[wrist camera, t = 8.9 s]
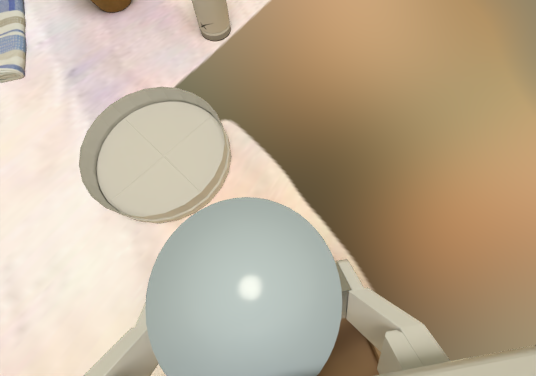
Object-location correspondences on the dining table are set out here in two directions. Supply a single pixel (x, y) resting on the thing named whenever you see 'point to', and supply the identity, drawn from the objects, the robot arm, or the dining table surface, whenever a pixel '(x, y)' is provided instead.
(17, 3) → the dish towel
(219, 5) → the travel mug
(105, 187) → the dish
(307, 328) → the grey domed cylinder
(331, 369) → the chest
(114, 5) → the plant pot
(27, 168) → the dining table surface
